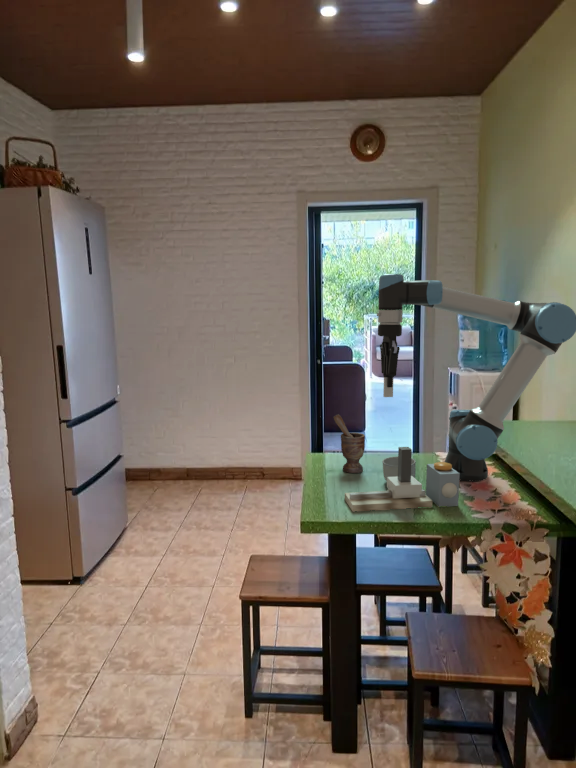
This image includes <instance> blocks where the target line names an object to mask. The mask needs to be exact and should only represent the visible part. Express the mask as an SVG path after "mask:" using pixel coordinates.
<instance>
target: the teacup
mask: <svg viewBox="0 0 576 768" xmlns="http://www.w3.org/2000/svg"><path fill="white" fill-rule="evenodd" d="M381 462H382V472H383V478H384V480H385V481H386V482H387V477H397V476H398V456H390V457H386V458H384V459H382V461H381ZM416 463H417V461H416V459H414V458H412V457H411V476H413V477H414V478H415V479H416V467H417V466H416Z"/></svg>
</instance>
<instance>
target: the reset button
mask: <svg viewBox="0 0 576 768" xmlns="http://www.w3.org/2000/svg"><path fill="white" fill-rule="evenodd" d="M433 464H434V468H435V469H437V470H438V471H450V470H451V469H452V465H451V464H450V463H446V462H444V461H438V462H434V463H433Z"/></svg>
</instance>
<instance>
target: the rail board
mask: <svg viewBox="0 0 576 768" xmlns="http://www.w3.org/2000/svg"><path fill="white" fill-rule="evenodd" d="M344 501H345V502H346V503H347V506H348V507H349V508H350V510H351V511H352V512H353V513H354V512H355V511H357V512H369V511H370V510H371V511H372V510H375V511H391V510H390V509H393V510H407V509H406V508H411V509H419V508H418V507H429V508H433V503H434V502H433V501H432V500H431V499H430V498H429V497H428V496H427V495H426V489H423V488H422V494H420V497H412V498H393V497H392V491H388V490H375V491H357V492H355V491H354V492H344ZM371 511H370V512H371Z"/></svg>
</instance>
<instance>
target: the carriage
mask: <svg viewBox="0 0 576 768" xmlns="http://www.w3.org/2000/svg"><path fill="white" fill-rule="evenodd" d="M412 451H413V449H412V448H411V447H409V446H398V451H397V452H398V455H397V457H398V476H397V477H387V481H386V488H388V489H387V491H392V497H393V498H412V497H420V494H422V489H423V483H421V482H420V481H419V480H417V478H416V477H415V478H414V477H413V476H411V458H412Z"/></svg>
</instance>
